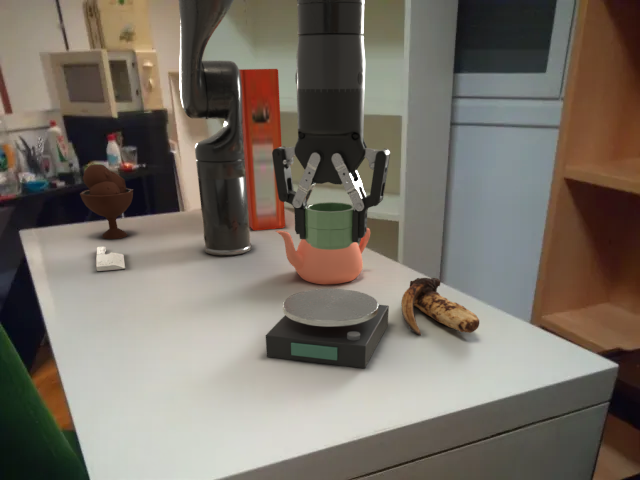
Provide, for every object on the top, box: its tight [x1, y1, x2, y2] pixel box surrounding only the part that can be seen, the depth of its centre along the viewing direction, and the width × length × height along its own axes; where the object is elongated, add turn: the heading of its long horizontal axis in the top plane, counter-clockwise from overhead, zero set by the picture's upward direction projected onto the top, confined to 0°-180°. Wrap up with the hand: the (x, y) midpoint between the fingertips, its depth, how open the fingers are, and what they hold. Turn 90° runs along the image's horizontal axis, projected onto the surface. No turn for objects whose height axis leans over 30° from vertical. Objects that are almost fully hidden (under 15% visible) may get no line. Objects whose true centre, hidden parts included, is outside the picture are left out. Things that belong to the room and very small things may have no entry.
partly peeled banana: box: [401, 277, 480, 336], centre depth 86 cm, size 9×5×18 cm
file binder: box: [238, 68, 286, 231], centre depth 137 cm, size 8×17×32 cm, turn 17°
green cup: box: [305, 201, 355, 250], centre depth 73 cm, size 6×6×4 cm
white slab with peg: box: [95, 245, 126, 272], centre depth 116 cm, size 5×15×1 cm, turn 17°
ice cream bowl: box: [79, 163, 134, 240], centre depth 129 cm, size 11×11×15 cm
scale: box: [265, 304, 390, 369], centre depth 80 cm, size 15×13×4 cm
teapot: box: [275, 227, 371, 285], centre depth 104 cm, size 12×18×10 cm
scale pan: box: [282, 288, 379, 327], centre depth 78 cm, size 13×13×1 cm
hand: (330, 239), depth 74 cm, fingers closed on green cup, 6 cm apart
